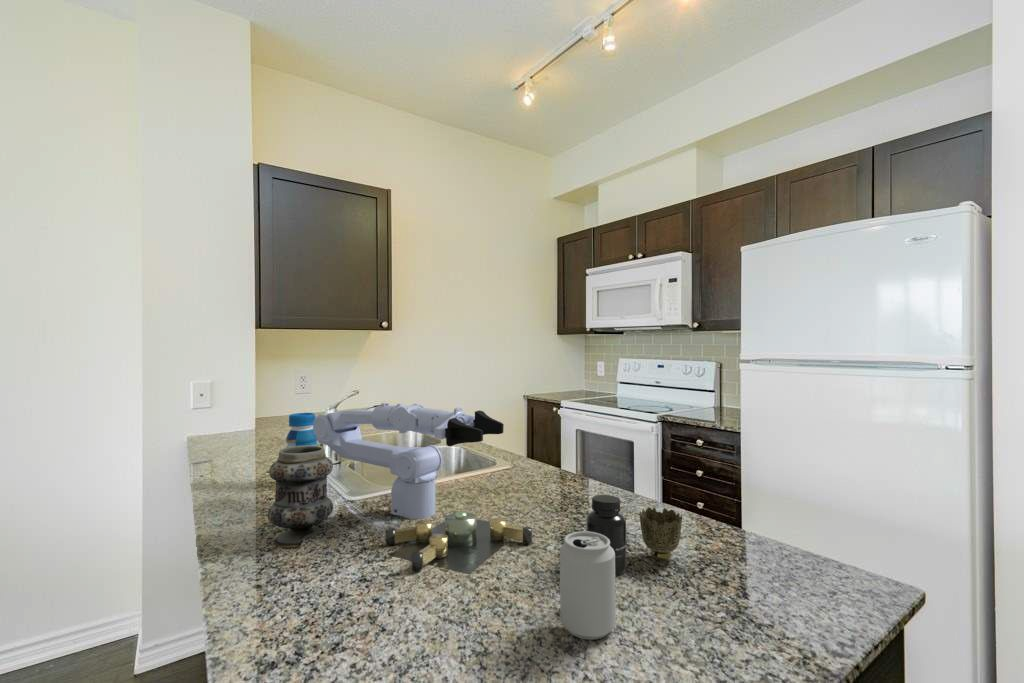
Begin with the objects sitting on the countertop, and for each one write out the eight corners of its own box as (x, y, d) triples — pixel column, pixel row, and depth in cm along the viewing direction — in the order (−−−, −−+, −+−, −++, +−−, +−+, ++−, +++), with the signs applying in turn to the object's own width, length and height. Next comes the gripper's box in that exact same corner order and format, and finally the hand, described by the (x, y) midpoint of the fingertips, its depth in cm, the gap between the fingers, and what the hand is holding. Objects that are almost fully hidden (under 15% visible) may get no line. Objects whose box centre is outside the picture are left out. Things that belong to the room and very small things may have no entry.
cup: (682, 552, 88) (682, 509, 88) (683, 570, 81) (682, 523, 81) (641, 547, 90) (640, 505, 91) (638, 563, 83) (637, 518, 84)
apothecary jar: (345, 532, 99) (345, 445, 99) (297, 555, 88) (297, 457, 88) (304, 523, 104) (304, 441, 104) (253, 544, 93) (253, 452, 93)
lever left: (430, 534, 93) (430, 519, 93) (433, 540, 90) (433, 525, 90) (385, 540, 90) (385, 525, 90) (386, 547, 87) (386, 531, 87)
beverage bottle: (310, 490, 128) (310, 416, 128) (279, 490, 128) (279, 416, 128) (323, 481, 136) (323, 412, 136) (294, 481, 136) (294, 412, 137)
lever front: (436, 549, 86) (436, 532, 87) (451, 552, 85) (451, 535, 85) (406, 569, 79) (406, 551, 79) (422, 573, 77) (422, 554, 77)
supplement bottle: (627, 579, 78) (626, 506, 78) (585, 575, 79) (584, 503, 79) (625, 561, 85) (625, 493, 85) (587, 557, 86) (586, 491, 86)
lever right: (487, 538, 91) (486, 522, 91) (494, 532, 94) (494, 517, 94) (528, 546, 88) (528, 529, 88) (535, 539, 91) (535, 523, 91)
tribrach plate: (387, 561, 85) (387, 525, 85) (454, 520, 105) (454, 491, 105) (469, 581, 78) (469, 542, 78) (524, 533, 97) (524, 502, 97)
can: (555, 612, 68) (555, 529, 68) (606, 610, 69) (606, 527, 69) (566, 645, 61) (565, 551, 61) (623, 641, 61) (622, 548, 62)
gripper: (417, 410, 97) (472, 419, 90) (460, 400, 109) (511, 407, 103) (417, 444, 97) (471, 455, 90) (460, 430, 110) (510, 439, 103)
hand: (492, 432), depth 97 cm, fingers open, 7 cm apart
